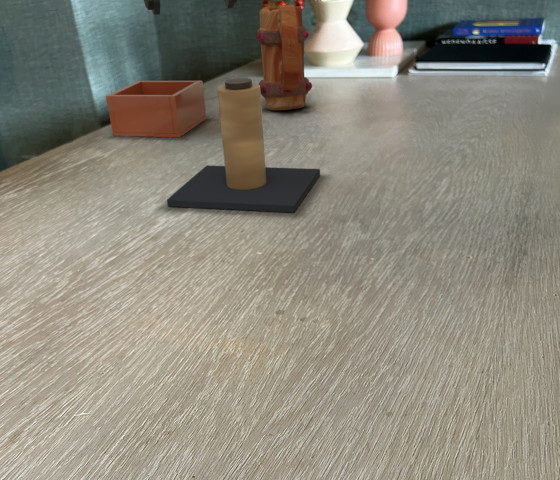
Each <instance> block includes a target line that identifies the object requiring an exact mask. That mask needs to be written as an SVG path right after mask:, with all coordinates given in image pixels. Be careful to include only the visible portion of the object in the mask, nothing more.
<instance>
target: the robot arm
mask: <svg viewBox="0 0 560 480" xmlns="http://www.w3.org/2000/svg"><path fill="white" fill-rule="evenodd" d="M223 2H224V6H225V8H226V10H230V9H234V8H235V7H234V6H235V4H237V2H238V0H223ZM143 3H144V7H145V8H146V9H147V11H151V12H152V15H154V16H156V15H161V0H143Z"/></svg>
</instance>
